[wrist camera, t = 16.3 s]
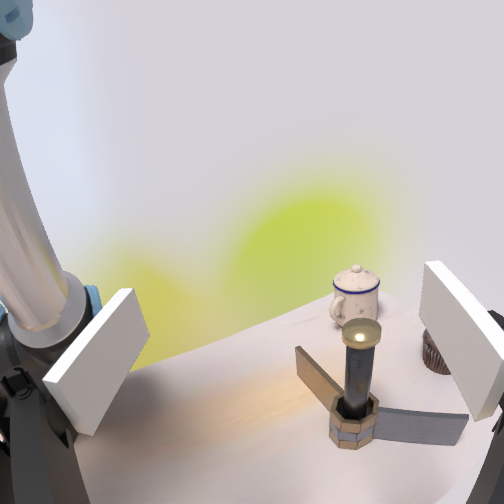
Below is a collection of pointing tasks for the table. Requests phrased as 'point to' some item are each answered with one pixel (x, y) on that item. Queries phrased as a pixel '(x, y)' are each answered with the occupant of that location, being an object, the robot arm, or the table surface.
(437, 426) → the hinge leaf
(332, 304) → the teacup with lid
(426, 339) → the cupcake
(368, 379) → the hinge pin
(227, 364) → the table surface
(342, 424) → the tan flat knuckled part
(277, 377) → the table surface
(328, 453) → the table surface
